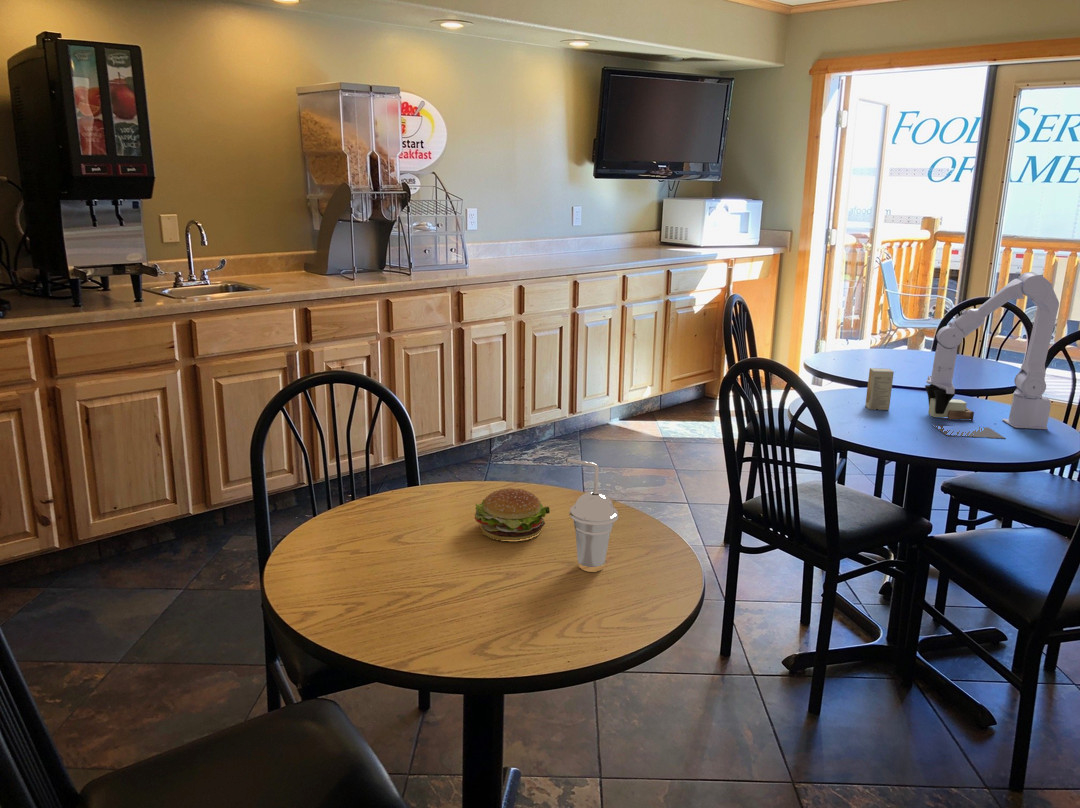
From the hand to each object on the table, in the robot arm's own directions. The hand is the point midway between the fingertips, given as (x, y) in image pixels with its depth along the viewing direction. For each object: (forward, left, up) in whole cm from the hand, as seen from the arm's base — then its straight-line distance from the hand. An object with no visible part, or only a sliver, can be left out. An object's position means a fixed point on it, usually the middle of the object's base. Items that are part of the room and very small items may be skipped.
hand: (936, 411), depth 251 cm
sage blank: (-3, 0, -2) cm, 3 cm away
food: (+120, +99, -2) cm, 156 cm away
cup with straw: (+105, +112, -2) cm, 154 cm away
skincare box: (+15, -6, -2) cm, 17 cm away
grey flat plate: (-3, +16, -1) cm, 16 cm away
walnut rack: (-6, 0, -1) cm, 6 cm away
